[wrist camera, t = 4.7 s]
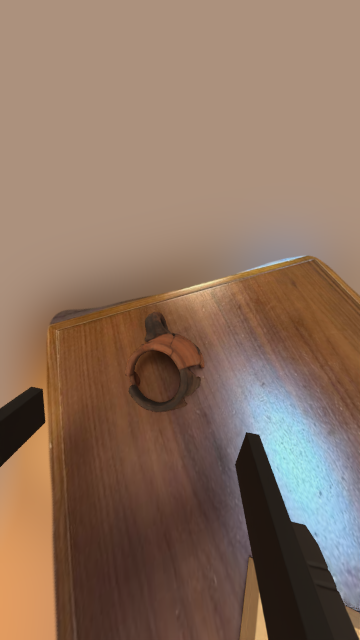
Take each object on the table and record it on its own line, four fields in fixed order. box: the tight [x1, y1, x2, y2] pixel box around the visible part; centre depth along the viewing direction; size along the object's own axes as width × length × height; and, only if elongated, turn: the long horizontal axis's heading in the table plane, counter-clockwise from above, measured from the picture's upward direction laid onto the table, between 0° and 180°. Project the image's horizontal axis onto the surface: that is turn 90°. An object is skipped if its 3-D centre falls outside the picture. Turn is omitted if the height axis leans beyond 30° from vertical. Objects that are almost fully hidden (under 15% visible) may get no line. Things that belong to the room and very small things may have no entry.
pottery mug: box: [125, 312, 204, 412], centre depth 23 cm, size 12×10×8 cm
